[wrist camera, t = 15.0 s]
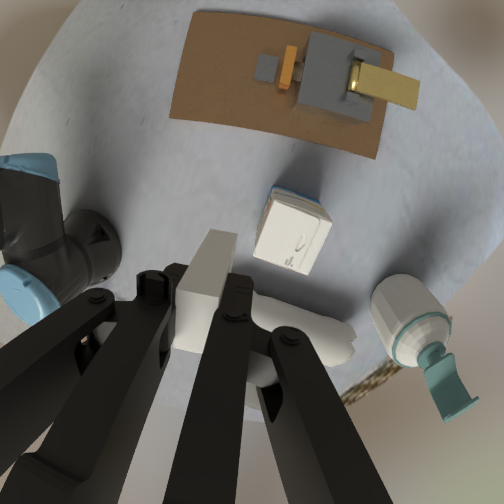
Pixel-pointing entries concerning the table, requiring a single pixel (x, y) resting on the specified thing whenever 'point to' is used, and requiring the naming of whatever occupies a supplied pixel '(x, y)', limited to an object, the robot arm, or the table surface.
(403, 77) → the tab
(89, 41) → the table surface
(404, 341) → the soap bottle
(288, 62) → the lynch pin
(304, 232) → the ink box
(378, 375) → the table surface
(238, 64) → the block
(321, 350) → the bottle
